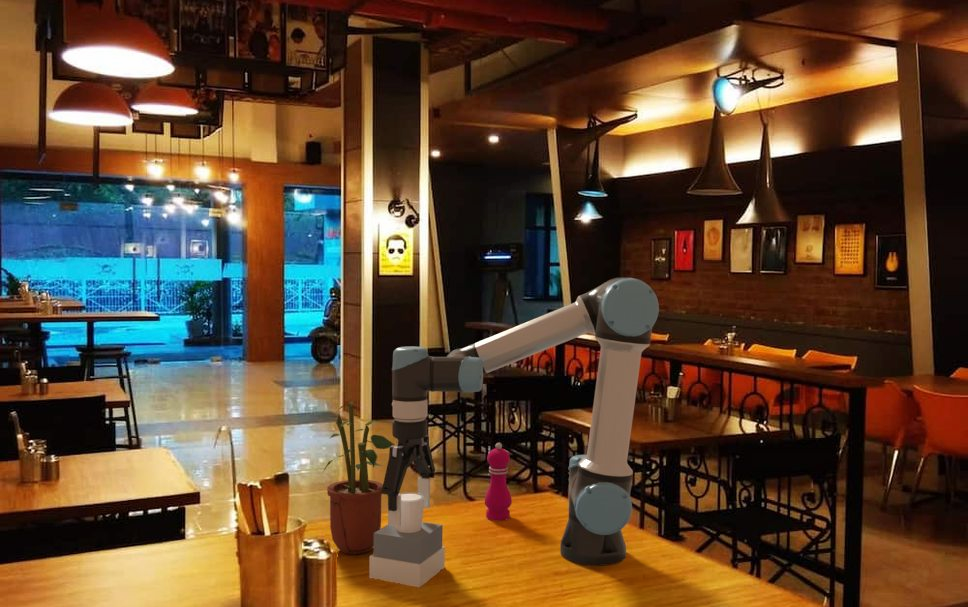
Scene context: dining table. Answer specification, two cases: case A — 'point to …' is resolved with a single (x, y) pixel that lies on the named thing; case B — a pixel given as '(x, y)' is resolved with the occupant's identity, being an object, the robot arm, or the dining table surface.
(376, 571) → the tower base
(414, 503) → the white cup
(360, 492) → the potted plant
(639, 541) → the dining table surface
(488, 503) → the pepper mill
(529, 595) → the dining table surface
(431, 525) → the tower top
